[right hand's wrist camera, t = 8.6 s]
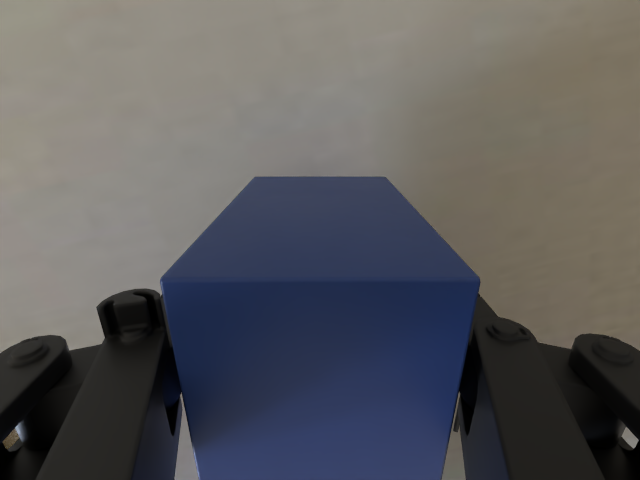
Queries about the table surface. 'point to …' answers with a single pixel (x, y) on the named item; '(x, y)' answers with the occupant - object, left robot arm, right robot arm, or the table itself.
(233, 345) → the bar
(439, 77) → the table surface
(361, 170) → the table surface
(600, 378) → the right robot arm
